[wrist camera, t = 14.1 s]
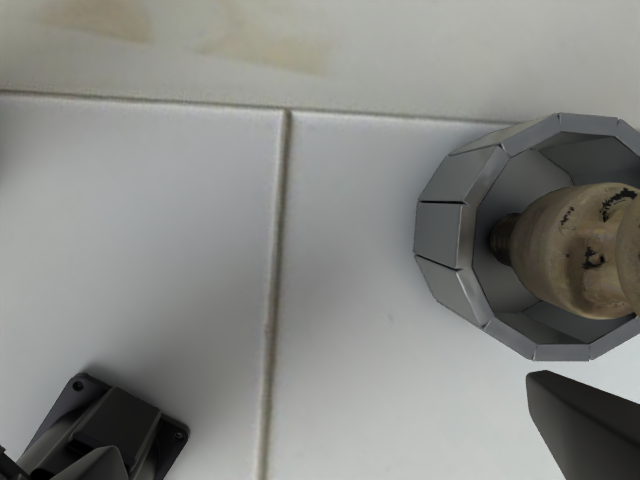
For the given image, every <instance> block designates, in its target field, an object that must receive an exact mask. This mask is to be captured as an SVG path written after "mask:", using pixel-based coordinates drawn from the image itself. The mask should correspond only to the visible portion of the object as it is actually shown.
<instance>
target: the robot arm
mask: <svg viewBox="0 0 640 480" xmlns="http://www.w3.org/2000/svg"><path fill="white" fill-rule="evenodd" d="M77 381H80V382H82V383H83V385H84V387H79V386H78V385H77ZM526 389H527V398H528V407H529V412H530V415H531V418H532V420H533V422H534V423H535V425H536V427H537V429H538V431H539V432H540V434H541V436H542V438H543V439H544V441H545V443H546V445H547V446H548V448H549V450H550V452H551V454H552V455H553V457H554V459H555V461H556V462H557V464H558V466H559V468H560V470H561V471H562V473H563V475H564V477H565V478H566V480H640V404H638V403H635V402H632V401H630V400H627V399H624V398H621V397H619V396H616V395H613V394H611V393H608V392H605V391H602V390H600V389H597V388H594V387H592V386H589V385H586V384H583V383H581V382H578V381H575V380H573V379H570V378H567V377H564V376H562V375H559V374H556V373H553V372H551V371H548V370H542V371H536V372H531V373H528V374H527V375H526ZM176 433H181V434H182V435H183V437H181V438H179V437H177V436H176V435H175V434H176ZM189 435H190V430H189V428H188V427H187V426H186V425H184V424H182V423H180V422H178V421H177V420H175V419H173V418H171V417H169V416H167V415H165V414H163V413H161V412H160V410H159V409H158V408H156V407H154V406H152V405H151V404H149V403H147V402H145V401H143V400H141V399H139V398H137V397H135V396H133V395H131V394H129V393H127V392H126V391H124V390H122V389H120V388H118V387H114V388H113V387H111V386H109V385H107V384H105V383H104V382H102V381H100V380H98V379H96V378H94V377H92V376H90V375H88V374H85V373H79V374H76V375H75V376H74V377H73V378H71V380H70V381H69V382H68V383H67V385H66V386H65V388H64V390H63V391H62V393H61V394H60V396H59V398H58V399H57V401H56V402H55V404H54V405H53V407H52V409H51V410H50V412H49V413H48V415H47V417H46V418H45V420H44V421H43V423H42V424H41V426H40V428H39V429H38V431H37V432H36V434H35V436H34V437H33V439H32V440H31V442H30V443H29V445H28V447H27V448H26V450H25V451H24V453H23V455H22V456H21V458H20V459H19V460H18V461H17V462H16V463H15V462H14V461H13V460H12V459H10V458H9V457H8V456H7V455H6V454H5V453H4V451H5V450H6V449H5V448H4V447H2V446H1V445H0V480H163V479H164V477H165V475H166V474H167V472H168V471H169V469H170V468H171V466H172V465H173V463H174V461H175V460H176V458H177V457H178V455H179V454H180V452H181V451H182V449H183V447H184V446H185V444H186V443H187V441H188V438H189Z"/></svg>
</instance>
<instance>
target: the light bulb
mask: <svg viewBox="0 0 640 480" xmlns="http://www.w3.org/2000/svg"><path fill="white" fill-rule="evenodd" d="M490 248H491V251H492V253H493V255H494V256H495V258H496V259H497V260H498V261H499V262H501V263H502V264H504V265H507V266H510V267H513V269H514V271H515V273H516V275H517V277H518V278H519V280H520V281H521V283H522V284H523V285H524V287H525V288H526V289H528V290H529V291H530V292H531V293H532V294H534V295H535V296H537V297H538V298H540V299H542V300H544V301H546V302H549V303H551V304H553V305H556V306H558V307H560V308H562V309H564V310H566V311H568V312H570V313H573V314H576V315H579V316H582V317H585V318H590V319H598V320H602V319H614V318H619V317H622V316H626V315H628V314H630V313H632V312H635V313H636V315H637V316H638V317H639V319H640V190H639V189H636V188H634V187H632V186H629V185H626V184H622V183H609V182H606V183H595V184H586V185H579V186H572V187H566V188H562V189H559V190H556V191H553V192H550V193H548V194H546V195H544V196H542V197H540V198H538V199H537V200H536V201H534V202H533V203H532V204H530V205H529V206H528V207H527V208H526V209H525V210H524V211H523V213H522V214H521V213H511V214H507V215H506V216H505V217H504V218H503V219H501V220H500V221H498V222H497V224H496V225H495V227H494V229H493V231H492V233H491V235H490Z"/></svg>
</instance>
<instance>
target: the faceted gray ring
mask: <svg viewBox="0 0 640 480" xmlns="http://www.w3.org/2000/svg"><path fill="white" fill-rule="evenodd" d="M527 149H530V150H538V151H540V152H541V153H542V154H544V155H545V156H546V157H548V158H549V159H550V160H551V161H553V162H554V163H555V164H557V165H558V166H559V167H561V168H562V169H563V170H565V171H566V172H567V173H569V174H570V176H571V178H572V181H573V183H574V186H579V185H586V184H595V183H606V182H609V183H622V184H626V185H629V186H632V187H634V188H636V189H639V190H640V133H638V132H637V131H636V130H635V129H633V128H632V127H631V126H630V125H628V124H627V123H626V122H625V121H624V120H621V119H620V120H618V118H616V117H606V116H595V115H583V114H571V113H557V114H552V115H548V116H545V117H541V118H538V119H535V120H531V121H528V122H525V123H521V124H518V125H515V126H511V127H508V128H505V129H501V130H498V131H495V132H491V133H489V134H487V135H485V136H483V137H481V138H479V139H478V140H476V141H474V142H472V143H470V144H468V145H466V146H464V147H462V148H460V149H458V150H456V151H454V152H453V153H451V154H449V155H448V157H445V159H444V160H443V162H442V163H441V165H440V166H439V168H438V169H437V171H436V173H435V174H434V176H433V177H432V179H431V180H430V182H429V183H428V185H427V186H426V188H425V190H424V191H423V193H422V194H421V196H420V197H419V199H418V200H419V201H420V202H421V203H417V211H416V224H415V237H414V250H413V252H414V253H415V254H416V255H415V256H414V257H415V259H416V261H417V263H418V265H419V268H420V270H421V272H422V274H423V276H424V278H425V280H426V282H427V284H428V286H429V289H430V291H431V293H432V295H433V297H434V298H435V299H437V300H436V301H437V302H439V303H440V304H442V305H443V306H445V307H446V308H448V309H449V310H451V311H453V312H454V313H456V314H457V315H459V316H460V317H462V318H463V319H465V320H466V321H468V322H470V323H471V324H473V325H474V326H476V327H477V328H479V329H481V330H482V331H484V332H485V333H487V334H489V335H490V336H492V337H493V338H495V339H496V340H498V341H500V342H501V343H503V344H504V345H506V346H508V347H509V348H511V349H512V350H514V351H515V352H517V353H519V354H520V355H522V356H523V357H525V358H527V359H529V360H530V359H531V360H532V361H589V359H591V360H594V359H595V358H597V357H599V356H601V355H603V354H604V353H606V352H608V351H610V350H611V349H613V348H615V347H617V346H618V345H620V344H622V343H624V342H625V341H627V340H629V339H631V338H633V337H634V336H636V335H638V334H640V319H639V317H638V316H637V315H636V313H635V312H632V313H630V314H628V315H626V316H622V317H619V318H614V319H602V320H598V319H590V318H585V317H582V316H579V315H576V314H573V313H570V312H568V311H566V310H564V309H562V308H560V307H558V306H556V305H553V304H551V303H549V302H546V301H544V300H543V301H541V302H539V303H537V304H535V305H534V306H532V307H530V308H528V309H526V310H525V311H523V312H521V313H506V312H493V311H492V309H491V307H490V305H489V302H488V300H487V298H486V296H485V294H484V291H483V289H482V287H481V285H480V283H479V280H478V278H477V276H476V274H475V272H474V269H473V267H472V264H473V253H474V242H475V231H476V219H477V208H478V207H479V205H480V204H481V202H482V201H483V199H484V198H485V196H486V195H487V193H488V192H489V190H490V188H491V187H492V185H493V184H494V182H495V181H496V179H497V178H498V176H499V175H500V173H501V172H502V170H503V169H504V167H505V166H506V164H507V162H508V161H509V159H510V158H512V157H514V156H516V155H518V154H520V153H522V152H524V151H526V150H527Z"/></svg>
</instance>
